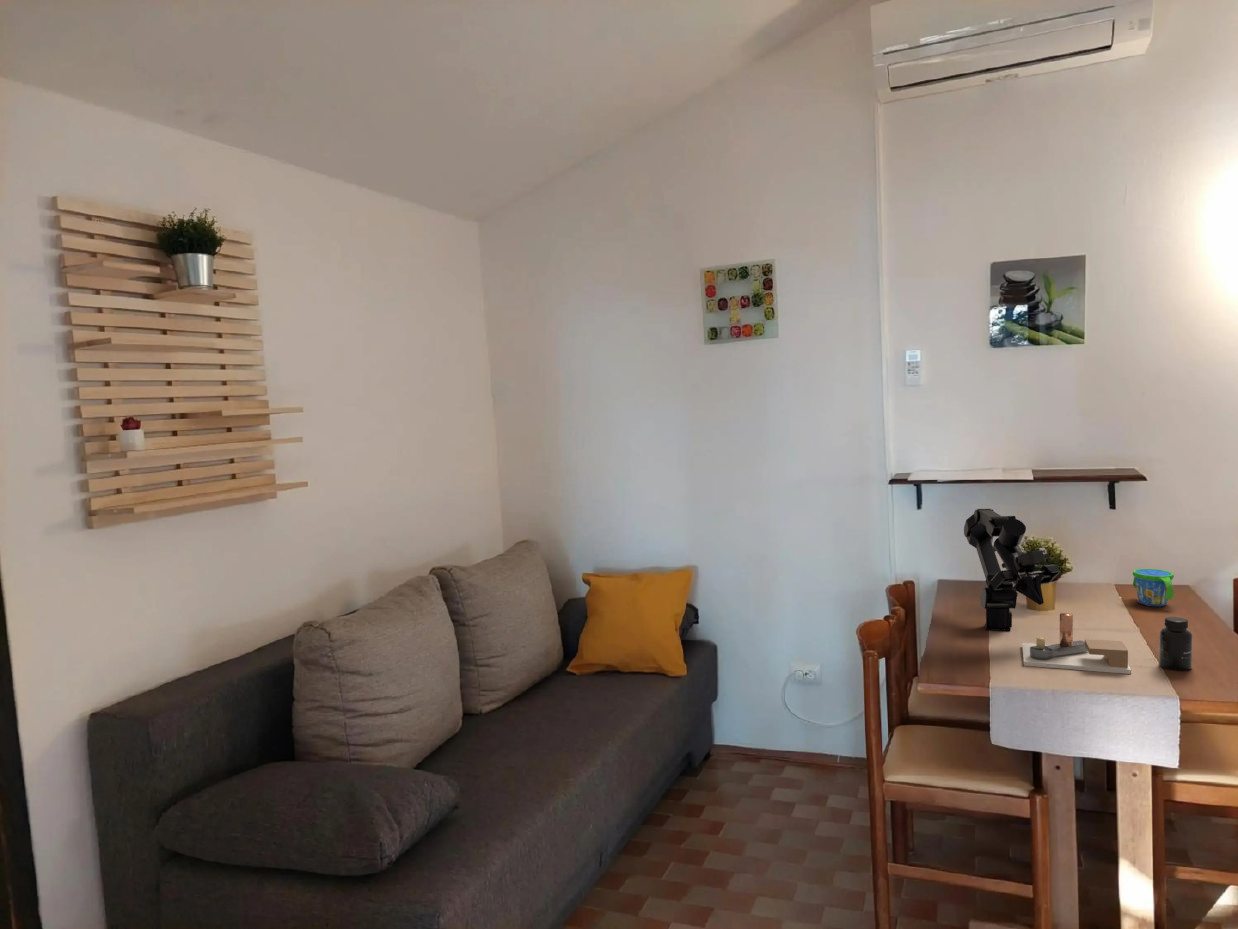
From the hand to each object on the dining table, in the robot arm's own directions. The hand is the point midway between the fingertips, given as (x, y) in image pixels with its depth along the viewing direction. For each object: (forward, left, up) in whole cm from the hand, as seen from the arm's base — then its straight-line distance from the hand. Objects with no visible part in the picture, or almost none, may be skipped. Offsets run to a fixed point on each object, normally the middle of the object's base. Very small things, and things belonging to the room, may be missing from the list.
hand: (1041, 604), depth 231 cm
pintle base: (+7, -7, -12) cm, 16 cm away
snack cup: (+33, +57, -13) cm, 67 cm away
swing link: (+4, -7, -11) cm, 13 cm away
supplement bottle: (+29, -6, -13) cm, 33 cm away
